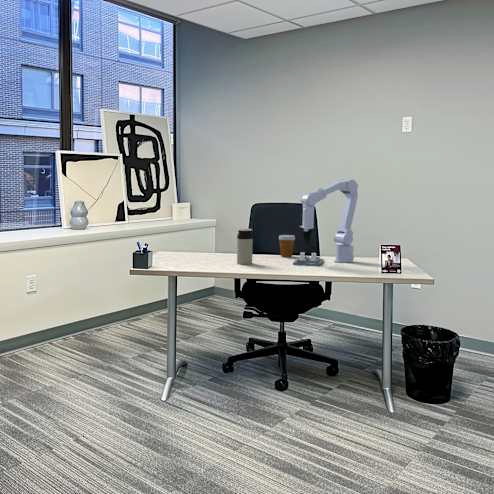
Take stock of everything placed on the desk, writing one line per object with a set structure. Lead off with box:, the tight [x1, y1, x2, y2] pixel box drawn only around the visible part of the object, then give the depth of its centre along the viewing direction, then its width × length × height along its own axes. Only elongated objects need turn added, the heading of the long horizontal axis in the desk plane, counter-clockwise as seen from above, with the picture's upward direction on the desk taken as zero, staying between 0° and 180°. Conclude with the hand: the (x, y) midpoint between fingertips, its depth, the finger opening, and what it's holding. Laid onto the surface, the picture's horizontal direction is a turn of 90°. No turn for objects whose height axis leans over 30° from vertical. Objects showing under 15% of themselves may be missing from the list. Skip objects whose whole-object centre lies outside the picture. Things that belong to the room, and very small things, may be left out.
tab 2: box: [310, 252, 317, 261], centre depth 293 cm, size 2×4×4 cm, turn 167°
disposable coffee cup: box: [278, 234, 296, 258], centre depth 319 cm, size 10×10×12 cm
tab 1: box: [299, 252, 306, 260], centre depth 295 cm, size 2×4×4 cm, turn 167°
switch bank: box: [292, 256, 325, 267], centre depth 297 cm, size 14×18×2 cm
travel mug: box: [236, 228, 254, 266], centre depth 292 cm, size 8×8×18 cm
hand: (307, 243), depth 293 cm, fingers closed
